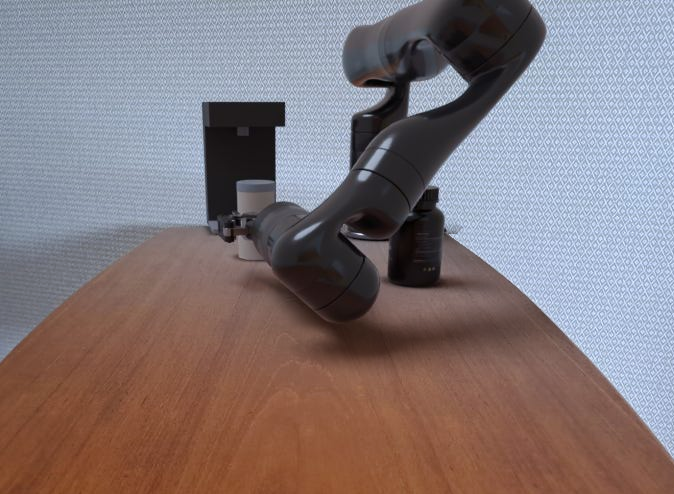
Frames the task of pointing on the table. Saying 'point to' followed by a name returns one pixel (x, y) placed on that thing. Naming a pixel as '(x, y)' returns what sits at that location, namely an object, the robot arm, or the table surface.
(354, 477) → the table surface
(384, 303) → the table surface
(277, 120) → the coffee maker
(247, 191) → the container
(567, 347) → the table surface
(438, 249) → the supplement bottle
